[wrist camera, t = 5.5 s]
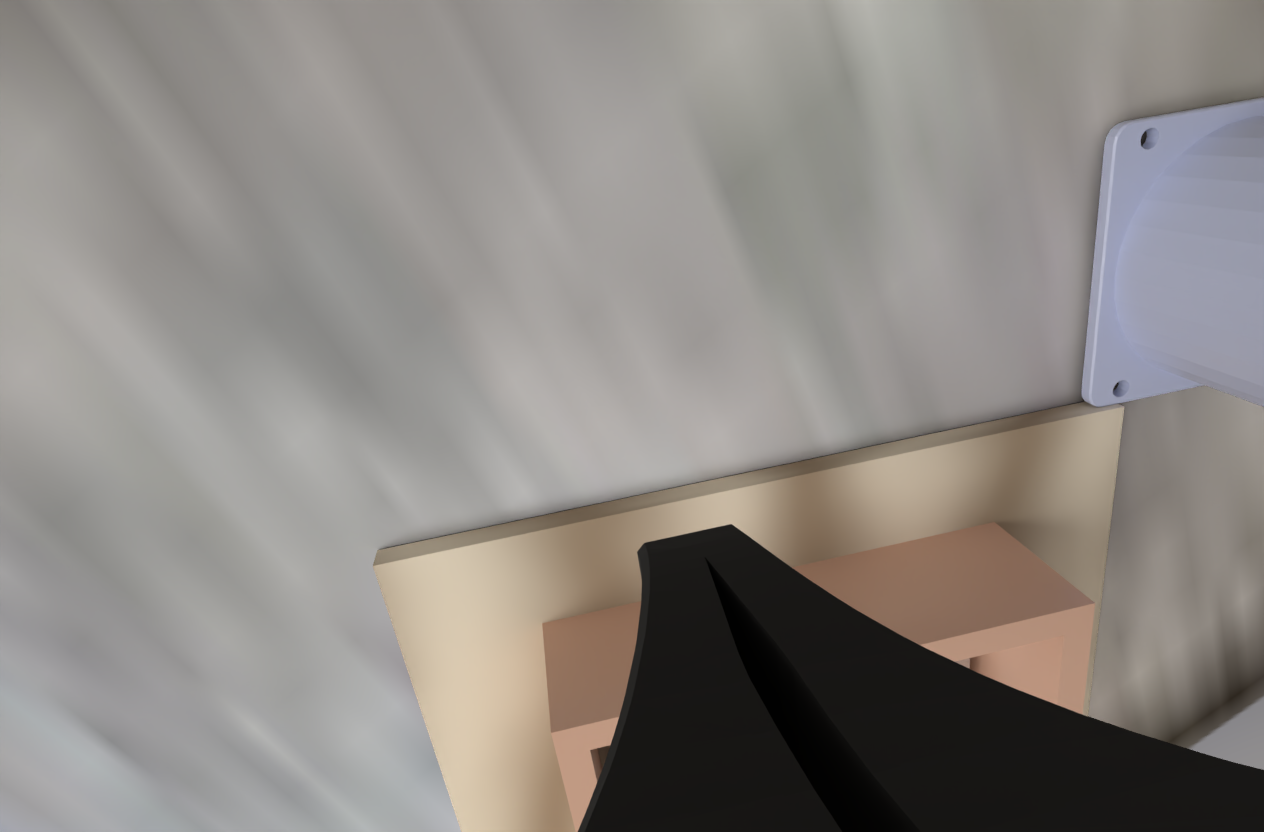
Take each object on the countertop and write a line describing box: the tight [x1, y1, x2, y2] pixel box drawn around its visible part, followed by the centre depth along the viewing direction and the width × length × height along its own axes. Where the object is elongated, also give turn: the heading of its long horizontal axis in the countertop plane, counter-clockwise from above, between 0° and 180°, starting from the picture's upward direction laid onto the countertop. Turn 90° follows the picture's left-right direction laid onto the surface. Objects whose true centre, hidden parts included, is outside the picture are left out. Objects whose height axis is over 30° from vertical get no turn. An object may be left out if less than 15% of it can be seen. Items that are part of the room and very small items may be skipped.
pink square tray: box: [542, 522, 1095, 832], centre depth 23 cm, size 14×14×4 cm
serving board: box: [373, 402, 1124, 832], centre depth 25 cm, size 22×20×1 cm
